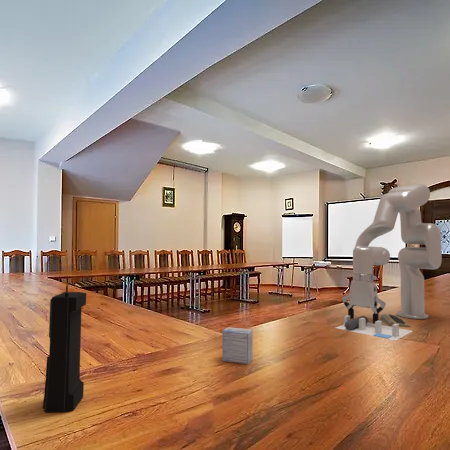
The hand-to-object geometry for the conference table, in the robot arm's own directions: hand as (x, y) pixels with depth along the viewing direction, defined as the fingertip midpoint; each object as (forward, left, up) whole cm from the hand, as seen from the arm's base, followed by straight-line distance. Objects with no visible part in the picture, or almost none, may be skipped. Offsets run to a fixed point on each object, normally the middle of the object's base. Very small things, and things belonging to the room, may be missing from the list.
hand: (363, 321), depth 138 cm
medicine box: (+64, -8, -3) cm, 65 cm away
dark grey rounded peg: (+5, 0, -1) cm, 6 cm away
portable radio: (+109, -15, -2) cm, 111 cm away
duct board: (+4, +6, -2) cm, 8 cm away
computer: (-14, +7, -3) cm, 16 cm away
